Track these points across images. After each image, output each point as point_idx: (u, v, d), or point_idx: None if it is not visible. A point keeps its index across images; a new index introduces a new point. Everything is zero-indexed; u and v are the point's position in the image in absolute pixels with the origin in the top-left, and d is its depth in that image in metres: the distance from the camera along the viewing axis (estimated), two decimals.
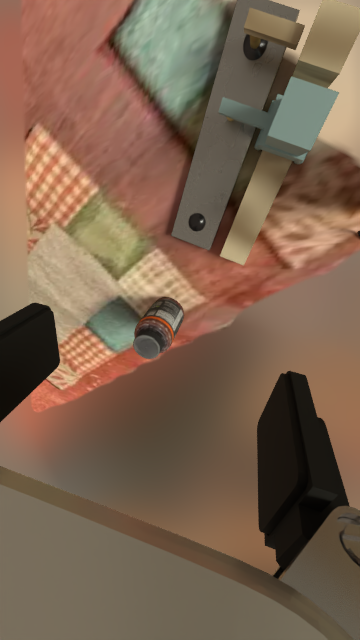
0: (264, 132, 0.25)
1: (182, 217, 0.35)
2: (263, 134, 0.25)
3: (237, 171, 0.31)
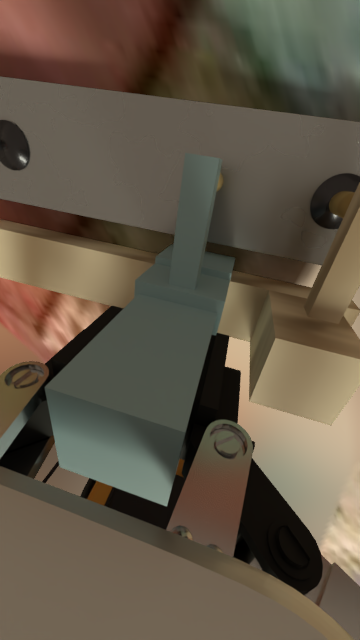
0: (157, 289, 0.11)
1: (0, 97, 0.13)
2: (153, 287, 0.11)
3: (126, 221, 0.15)
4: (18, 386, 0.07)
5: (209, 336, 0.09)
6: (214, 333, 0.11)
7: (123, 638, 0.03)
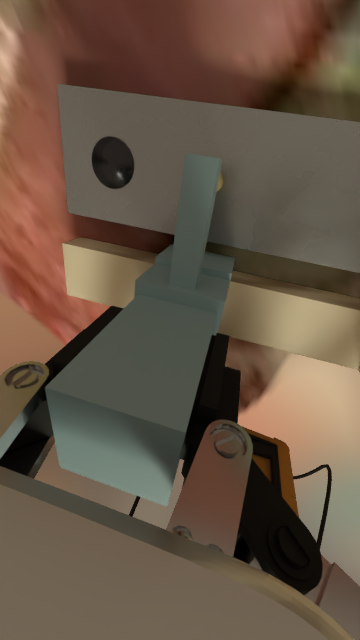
0: (157, 289, 0.11)
1: (111, 112, 0.12)
2: (153, 287, 0.11)
3: (232, 243, 0.14)
4: (18, 386, 0.07)
5: (209, 336, 0.09)
6: (214, 333, 0.11)
7: (123, 638, 0.03)
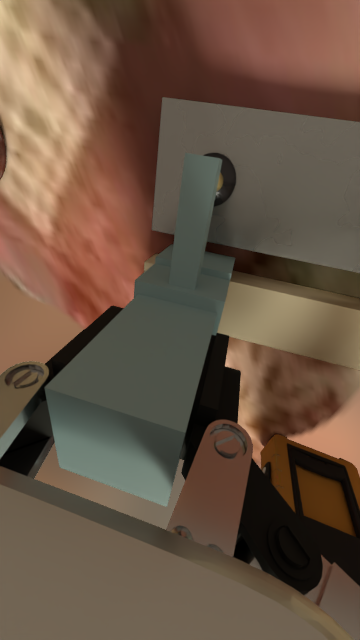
0: (157, 289, 0.11)
1: (219, 128, 0.12)
2: (153, 287, 0.11)
3: (335, 264, 0.13)
4: (18, 386, 0.07)
5: (209, 336, 0.09)
6: (214, 333, 0.11)
7: (123, 638, 0.03)
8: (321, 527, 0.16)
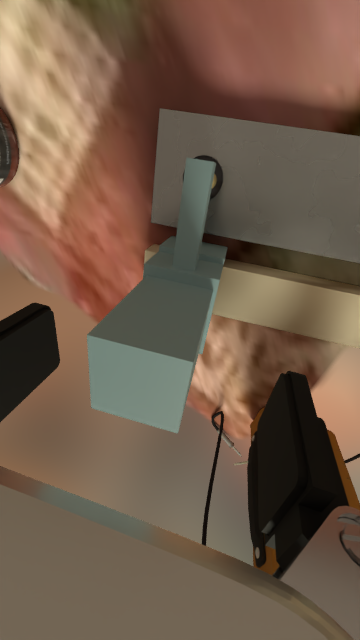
0: (163, 270, 0.13)
1: (208, 134, 0.14)
2: (160, 269, 0.13)
3: (308, 250, 0.16)
4: None
5: (207, 305, 0.11)
6: (211, 307, 0.13)
7: (123, 638, 0.03)
8: None
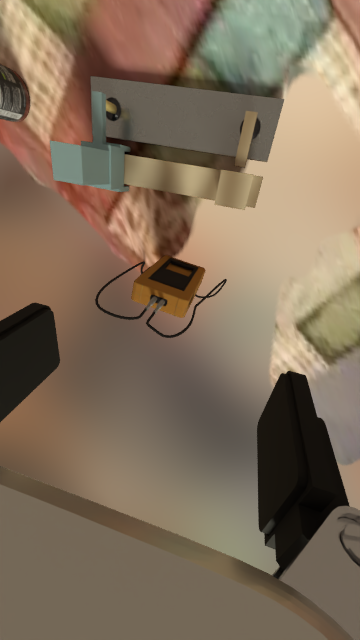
0: (88, 143, 0.31)
1: (111, 87, 0.32)
2: (87, 143, 0.31)
3: (162, 143, 0.33)
4: None
5: (101, 149, 0.29)
6: (110, 161, 0.31)
7: (123, 638, 0.03)
8: (170, 270, 0.36)
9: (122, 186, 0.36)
